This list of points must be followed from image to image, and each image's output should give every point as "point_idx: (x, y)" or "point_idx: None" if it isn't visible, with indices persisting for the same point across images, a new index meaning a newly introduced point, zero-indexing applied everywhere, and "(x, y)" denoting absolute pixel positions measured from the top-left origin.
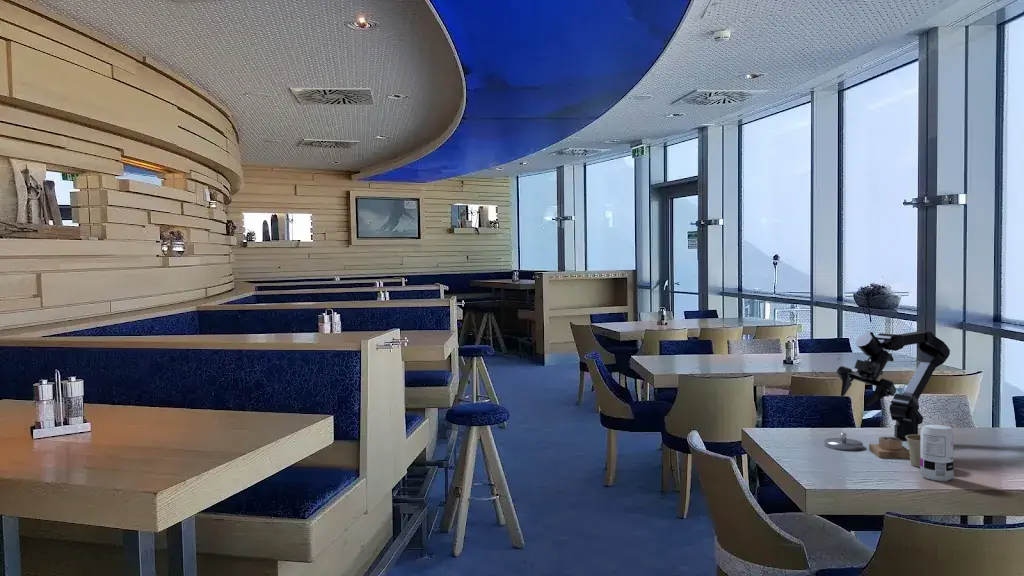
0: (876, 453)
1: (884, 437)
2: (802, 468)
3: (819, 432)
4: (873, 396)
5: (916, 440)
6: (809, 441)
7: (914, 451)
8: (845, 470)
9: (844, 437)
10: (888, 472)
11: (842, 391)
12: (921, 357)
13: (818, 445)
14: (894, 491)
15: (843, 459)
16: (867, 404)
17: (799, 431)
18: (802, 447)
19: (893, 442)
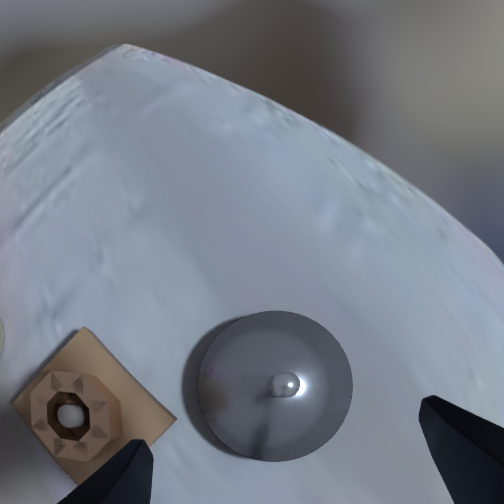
0: (109, 352)
1: (98, 429)
2: (188, 92)
3: None
4: (77, 496)
5: None
6: (389, 339)
7: None
8: (109, 138)
9: (272, 378)
10: (27, 200)
11: (452, 412)
12: None
13: (334, 316)
14: (10, 115)
15: (160, 217)
16: (140, 440)
17: None
18: (338, 245)
19: (43, 381)
